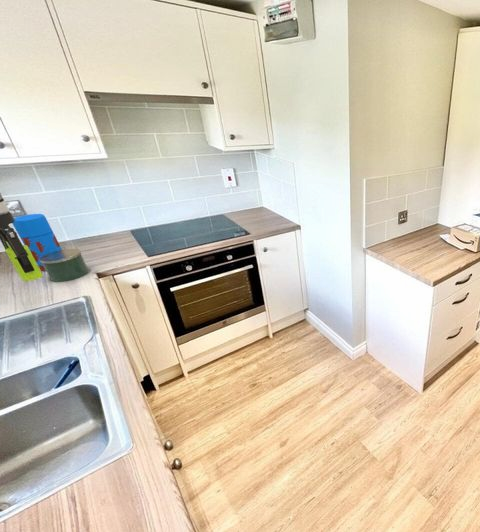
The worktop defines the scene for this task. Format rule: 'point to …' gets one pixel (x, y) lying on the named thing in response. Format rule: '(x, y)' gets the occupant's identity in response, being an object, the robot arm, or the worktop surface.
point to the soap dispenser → (23, 275)
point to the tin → (64, 265)
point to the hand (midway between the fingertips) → (26, 269)
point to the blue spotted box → (36, 236)
